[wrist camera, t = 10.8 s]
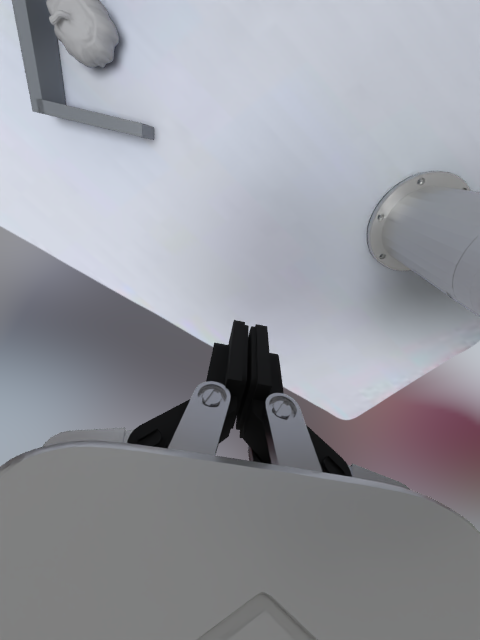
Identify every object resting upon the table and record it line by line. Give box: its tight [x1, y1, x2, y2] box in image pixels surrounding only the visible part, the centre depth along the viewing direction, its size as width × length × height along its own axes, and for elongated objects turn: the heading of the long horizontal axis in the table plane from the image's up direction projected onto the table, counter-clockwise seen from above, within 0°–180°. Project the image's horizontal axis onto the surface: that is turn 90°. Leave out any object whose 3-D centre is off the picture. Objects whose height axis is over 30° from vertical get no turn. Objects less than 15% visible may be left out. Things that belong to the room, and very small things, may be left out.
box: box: [12, 0, 154, 140], centre depth 25 cm, size 11×15×4 cm
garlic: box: [46, 0, 119, 68], centre depth 24 cm, size 6×5×5 cm
